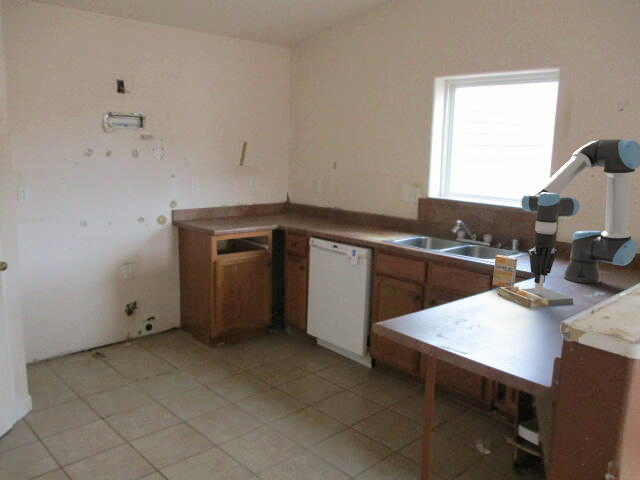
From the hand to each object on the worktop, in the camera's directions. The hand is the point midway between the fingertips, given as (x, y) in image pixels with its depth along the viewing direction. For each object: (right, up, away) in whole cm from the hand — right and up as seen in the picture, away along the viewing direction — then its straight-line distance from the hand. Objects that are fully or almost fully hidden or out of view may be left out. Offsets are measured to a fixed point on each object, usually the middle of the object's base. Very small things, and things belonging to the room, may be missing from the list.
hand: (538, 290), depth 210 cm
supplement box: (-7, 0, +19) cm, 20 cm away
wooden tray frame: (-7, -3, -2) cm, 8 cm away
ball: (-7, -3, -2) cm, 8 cm away
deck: (+3, -3, +2) cm, 5 cm away
